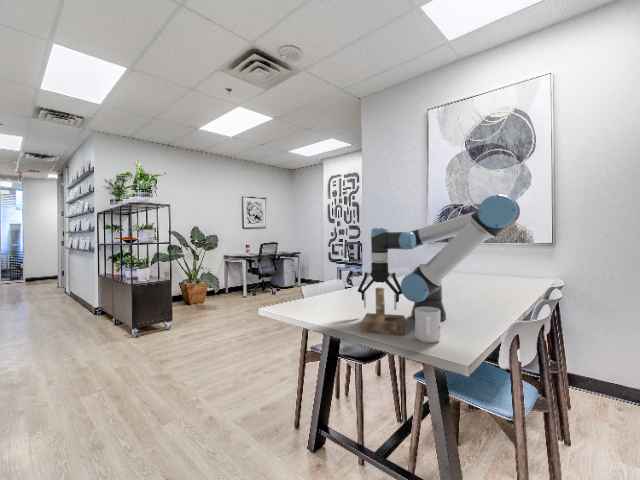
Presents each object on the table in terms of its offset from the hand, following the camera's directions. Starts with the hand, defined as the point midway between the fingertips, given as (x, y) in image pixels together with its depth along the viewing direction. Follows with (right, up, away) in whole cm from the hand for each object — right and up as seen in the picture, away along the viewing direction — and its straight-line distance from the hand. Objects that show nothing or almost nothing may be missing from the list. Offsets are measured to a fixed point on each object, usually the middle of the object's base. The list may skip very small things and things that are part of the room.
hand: (380, 308), depth 146 cm
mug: (+12, -6, -30) cm, 32 cm away
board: (-1, -5, -14) cm, 15 cm away
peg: (0, -5, 0) cm, 5 cm away
